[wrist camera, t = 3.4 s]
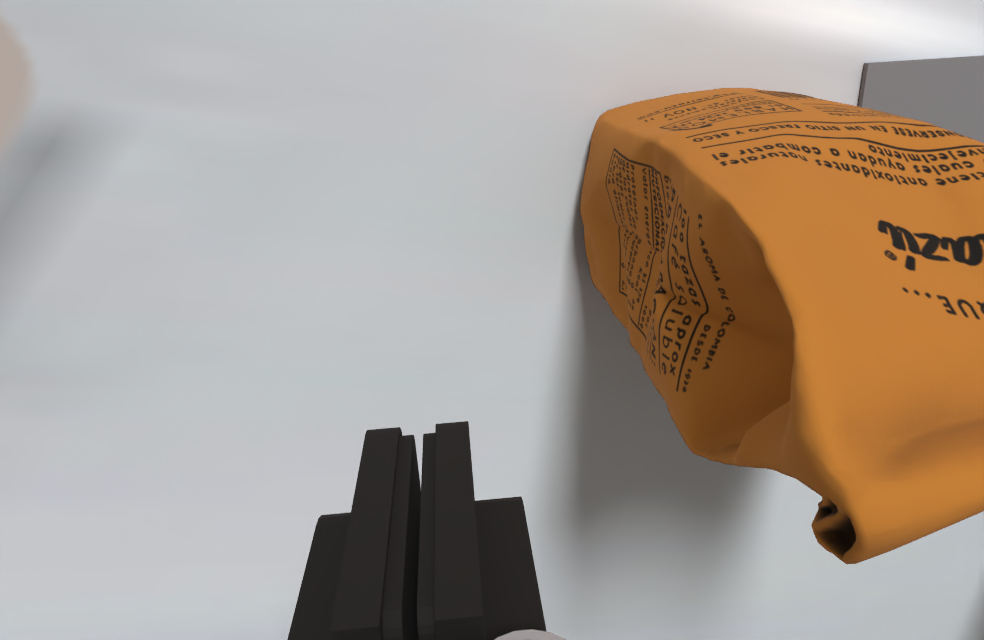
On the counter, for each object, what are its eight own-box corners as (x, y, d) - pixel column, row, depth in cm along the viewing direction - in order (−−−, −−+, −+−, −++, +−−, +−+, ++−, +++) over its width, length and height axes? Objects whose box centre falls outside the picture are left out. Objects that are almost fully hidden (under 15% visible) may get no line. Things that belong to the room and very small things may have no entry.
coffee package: (811, 301, 33) (1395, 716, 13) (565, 296, 32) (767, 734, 12) (863, 91, 29) (1822, 200, 9) (586, 78, 28) (939, 167, 8)
